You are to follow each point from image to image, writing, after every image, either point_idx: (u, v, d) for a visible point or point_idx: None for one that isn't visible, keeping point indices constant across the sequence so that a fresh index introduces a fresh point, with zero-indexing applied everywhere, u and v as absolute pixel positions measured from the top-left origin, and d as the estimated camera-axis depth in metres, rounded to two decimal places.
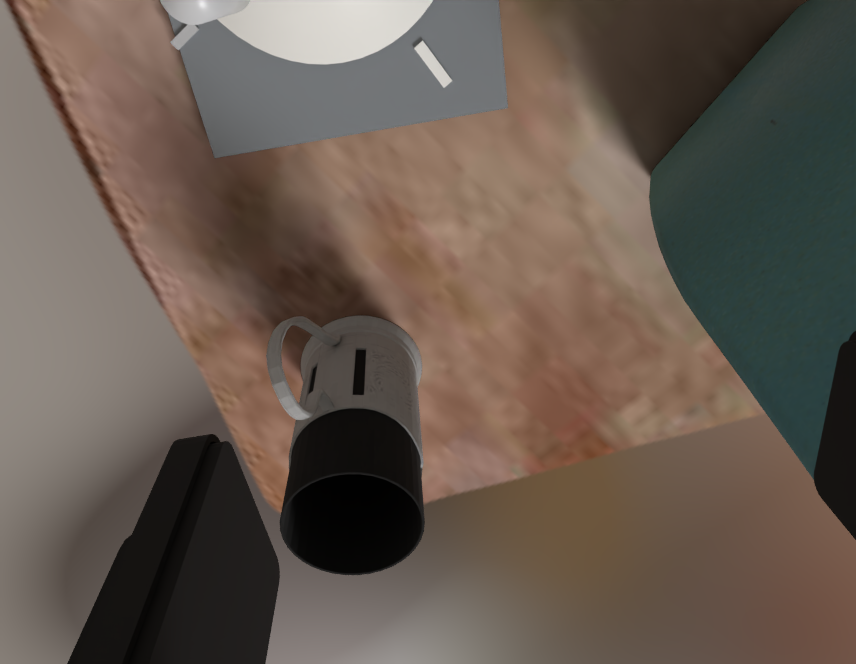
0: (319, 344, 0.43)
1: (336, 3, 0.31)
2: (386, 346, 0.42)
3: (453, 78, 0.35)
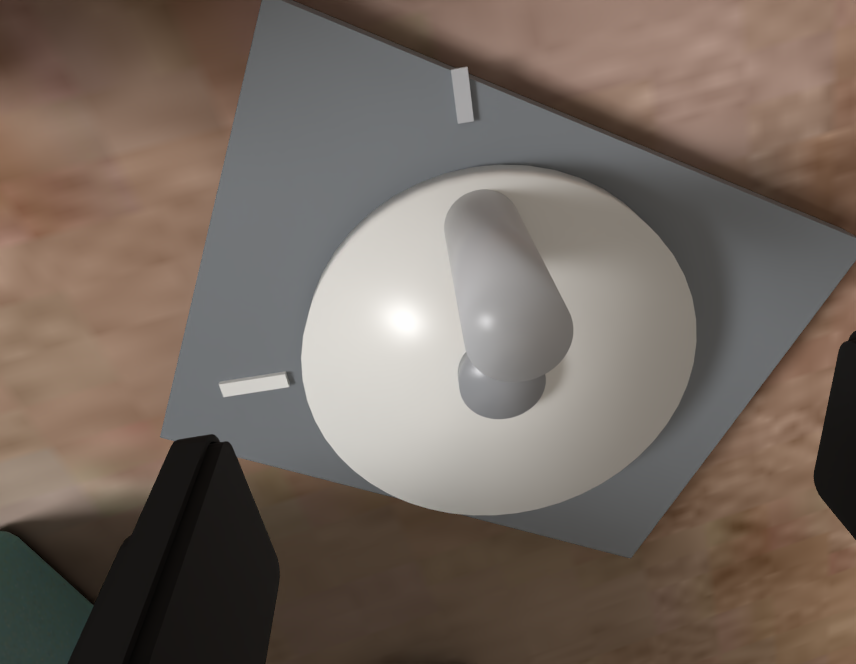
0: None
1: (383, 342, 0.22)
2: None
3: (226, 397, 0.25)
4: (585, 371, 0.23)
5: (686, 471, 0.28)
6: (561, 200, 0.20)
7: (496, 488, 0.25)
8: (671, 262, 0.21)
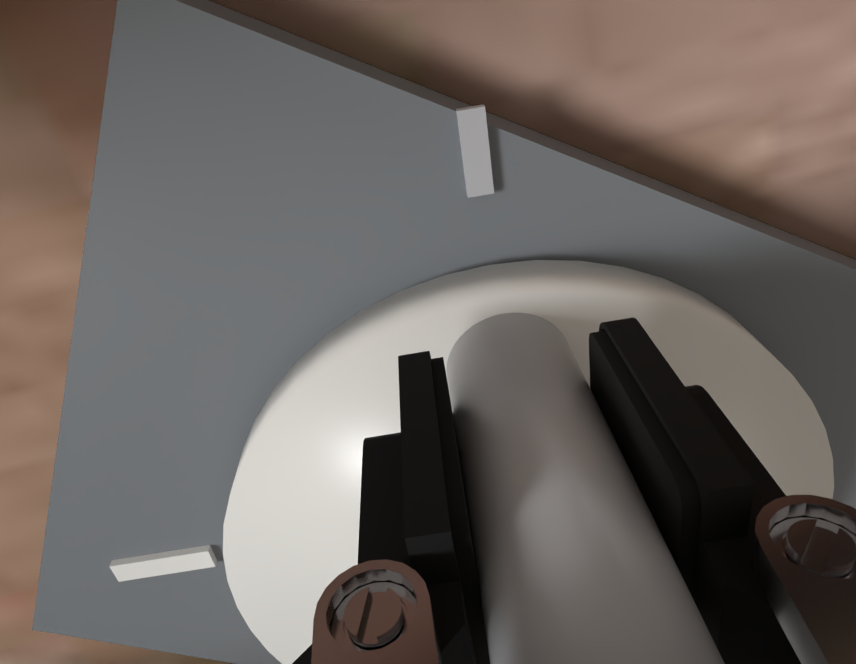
0: None
1: (350, 530, 0.14)
2: None
3: None
4: None
5: None
6: None
7: None
8: (808, 412, 0.13)
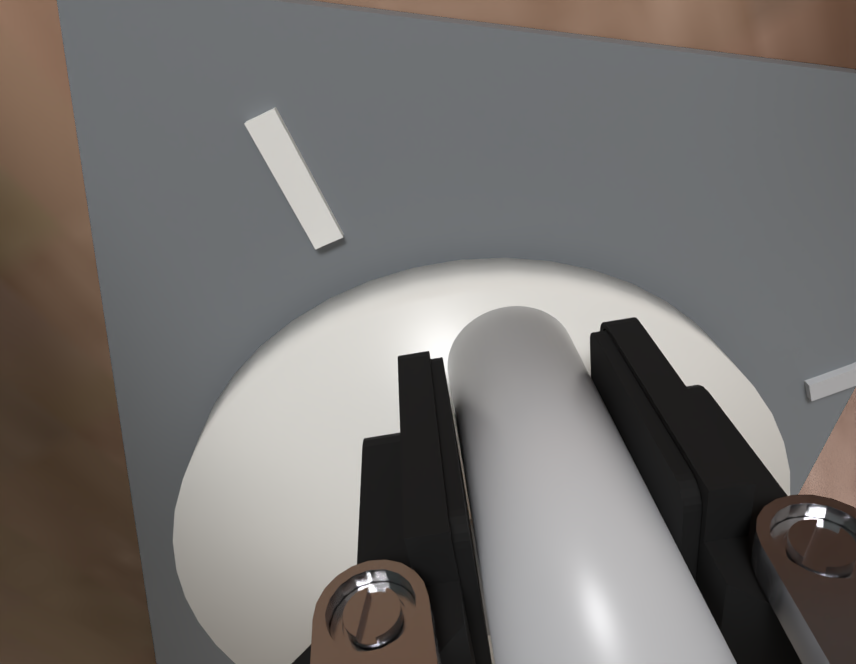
0: None
1: (314, 504, 0.14)
2: None
3: (241, 126, 0.11)
4: None
5: None
6: None
7: None
8: (778, 452, 0.14)
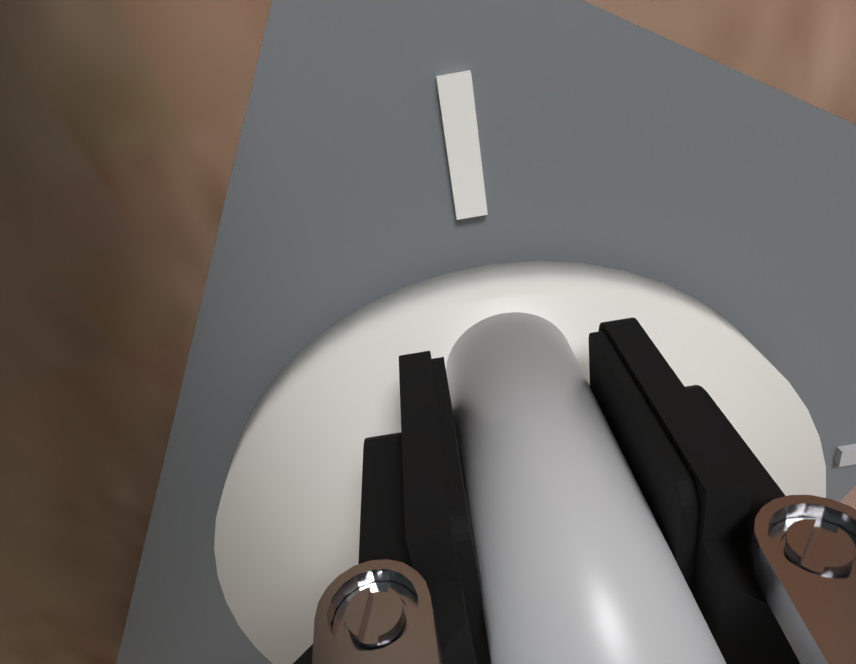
0: None
1: (344, 527, 0.14)
2: None
3: (429, 79, 0.11)
4: None
5: None
6: None
7: None
8: (803, 420, 0.13)
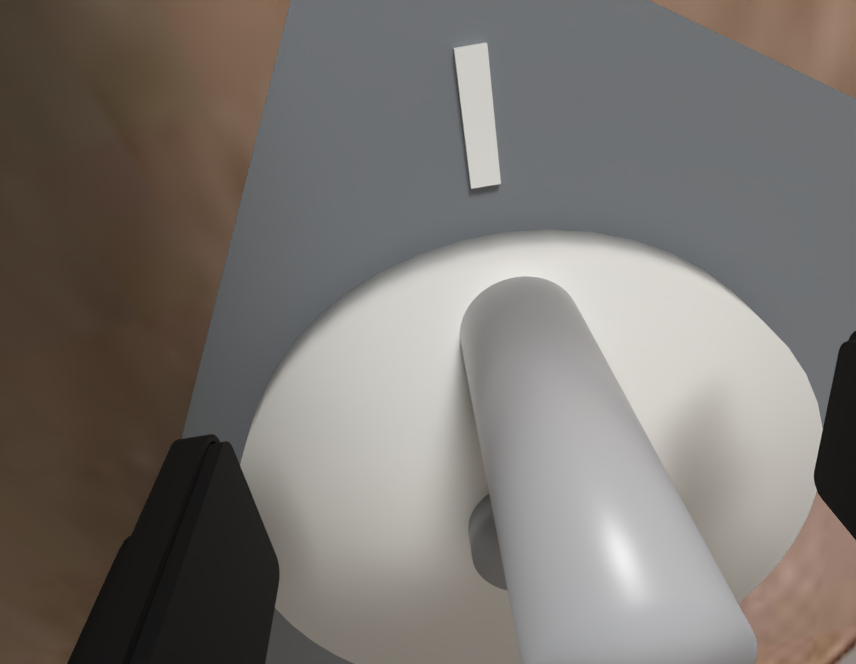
0: None
1: (359, 487, 0.14)
2: None
3: (447, 51, 0.12)
4: None
5: None
6: (647, 294, 0.12)
7: (513, 660, 0.18)
8: (801, 385, 0.14)
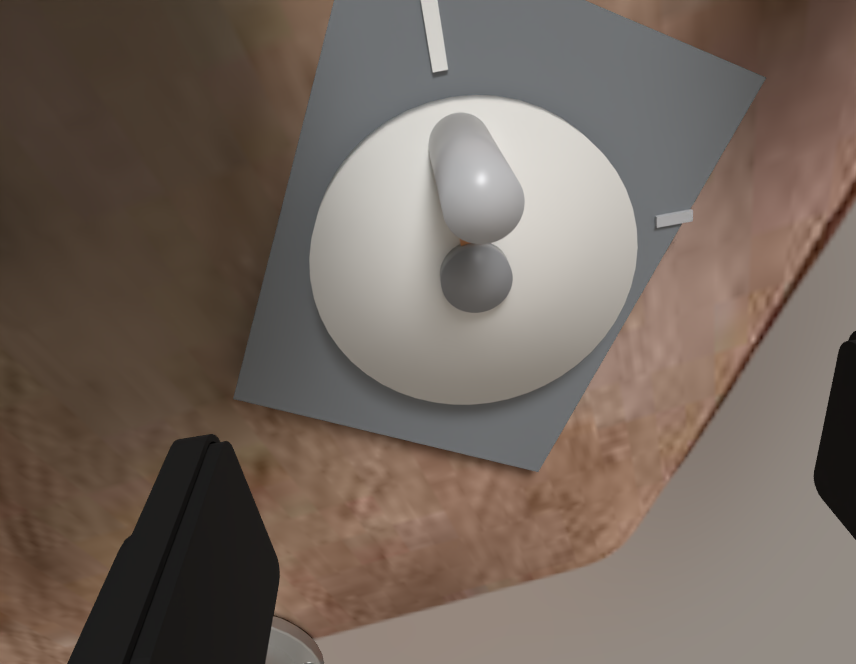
0: None
1: (377, 246, 0.26)
2: None
3: None
4: (546, 273, 0.27)
5: (343, 418, 0.33)
6: (523, 122, 0.24)
7: (473, 379, 0.30)
8: (615, 177, 0.25)
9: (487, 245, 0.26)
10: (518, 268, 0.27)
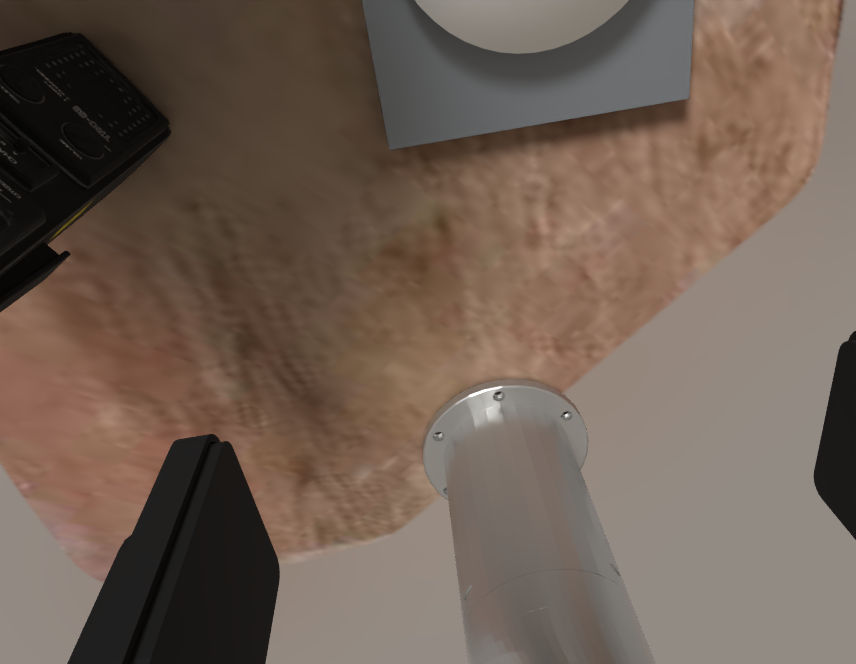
0: None
1: None
2: None
3: None
4: None
5: (486, 125, 0.36)
6: None
7: (578, 4, 0.31)
8: None
9: None
10: None
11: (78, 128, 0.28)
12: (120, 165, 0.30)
